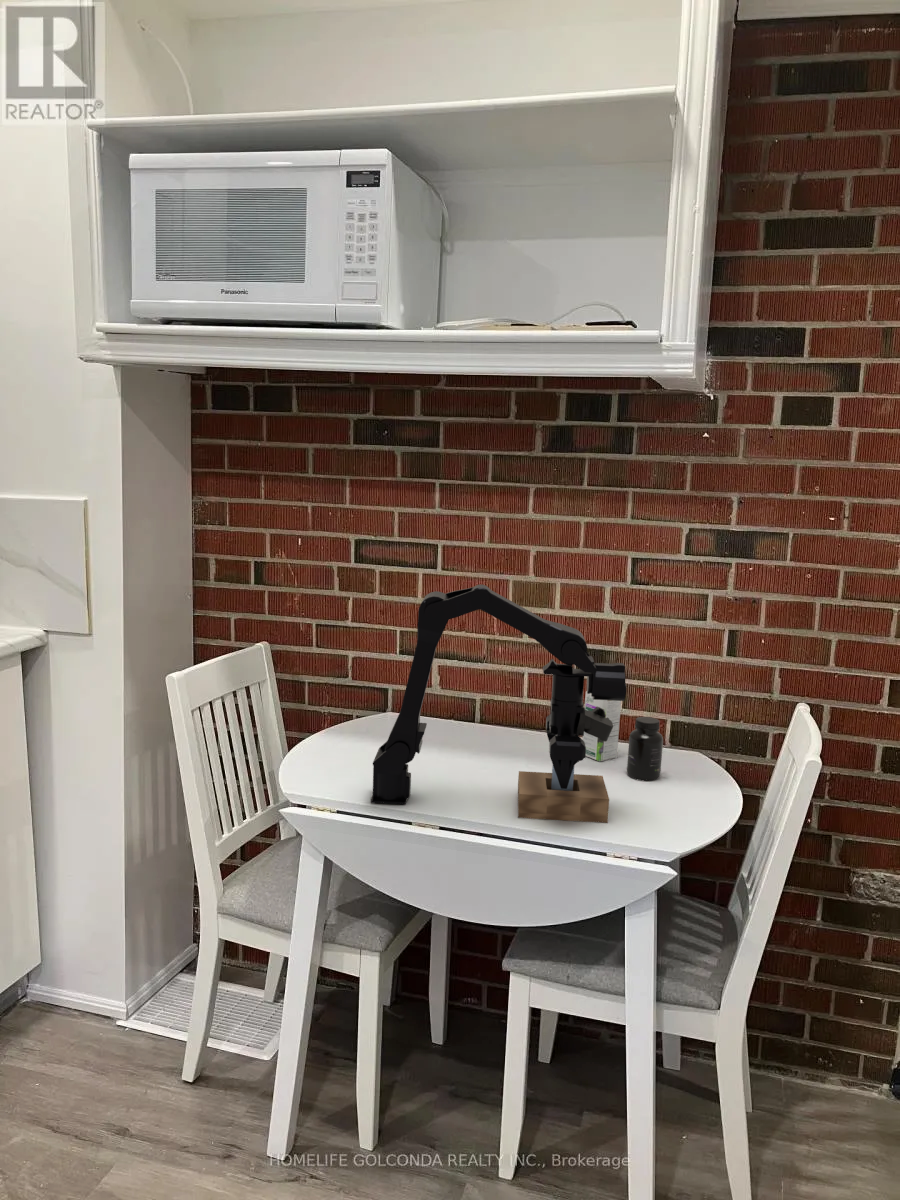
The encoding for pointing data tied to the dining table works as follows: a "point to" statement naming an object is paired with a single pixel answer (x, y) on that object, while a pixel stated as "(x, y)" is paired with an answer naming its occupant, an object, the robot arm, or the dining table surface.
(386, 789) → the robot arm
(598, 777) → the socket block
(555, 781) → the pin
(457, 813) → the dining table surface
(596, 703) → the syrup box
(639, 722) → the supplement bottle
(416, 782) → the dining table surface
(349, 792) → the dining table surface
